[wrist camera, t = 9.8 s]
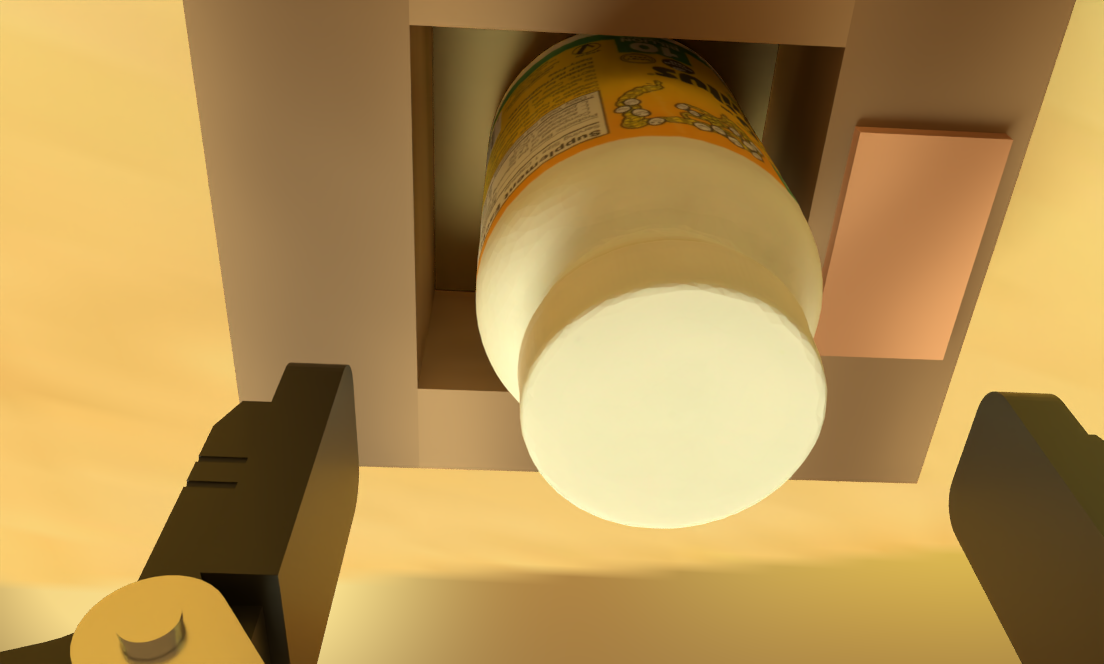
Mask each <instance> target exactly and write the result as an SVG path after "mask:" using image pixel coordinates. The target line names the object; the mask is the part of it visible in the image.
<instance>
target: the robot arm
mask: <svg viewBox="0 0 1104 664" xmlns="http://www.w3.org/2000/svg"><path fill="white" fill-rule="evenodd" d="M358 482H359V457H358V443H357V428H356V414H355V400H354V385H353V375H352V370H351V367H350V365H345V364H319V363H294V362H290V363H288V365H287V366H286V368H285V370H284V372H283V375H282V377H281V380H280V382H279V384H278V387H277V389H276V392H275V394H274V396H273V399H272V401H271V402H264V401H242V402H241V403H240V404H239V405H238V406H236V407H235V408H234V409H233V410H232V411H230V412H229V413H228V414H227V415H226V416H225V417H223V418H222V419H221V420H220V421H219V422H217V423H216V424H215V425H214V426H213V428H212V430H211V432H210V434H209V436H208V438H207V440H206V442H205V444H204V446H203V448H202V450H201V452H200V454H199V461H198V462H196V463H195V465H194V467H193V469H192V471H191V473H190V475H189V477H188V479H187V486H186V487H183V489H182V491H181V493H180V496H179V498H178V500H177V502H176V504H175V506H174V508H173V510H172V512H171V514H170V516H169V518H168V520H167V522H166V524H165V526H164V528H163V530H162V532H161V535H160V537H159V539H158V541H157V543H156V545H155V547H154V549H153V551H152V553H151V555H150V557H149V559H148V561H147V563H146V565H145V567H144V569H143V571H142V574H141V576H140V578H139V580H138V581H137V582H134V583H131V584H128V585H126V586H124V587H122V588H120V589H118V590H116V591H114V592H113V593H111V594H109V595H108V596H106V597H105V598H103V599H102V600H101V601H100V602H98V603H97V604H96V605H95V606H93V607H92V609H91V610H90V611H89V612H88V613H87V614H86V615H85V616H84V618H83V619H82V620H81V622H80V623H79V624H78V626H77V628H76V630H75V632H74V633H72V634H70V635H67V636H64V637H62V638H58V639H55V640H51V641H48V642H44V643H39V644H35V645H30V646H25V647H21V648H17V649H13V650H8V651H3V652H0V664H317V661H318V657H319V653H320V649H321V645H322V641H323V637H324V633H325V629H326V625H327V621H328V617H329V613H330V609H331V605H332V601H333V596H334V593H335V589H336V585H337V581H338V577H339V573H340V569H341V565H342V561H343V557H344V553H345V549H346V545H347V541H348V536H349V532H350V528H351V524H352V520H353V516H354V512H355V507H356V502H357V494H358ZM949 514H950V520H951V524H952V528H953V531H954V533H955V535H956V537H957V539H958V541H959V543H960V545H961V547H962V549H963V551H964V553H965V555H966V557H967V558H968V560H969V562H970V564H971V566H972V568H973V570H974V572H975V574H976V576H977V578H978V580H979V582H980V584H981V585H982V587H983V589H984V591H985V593H986V595H987V597H988V599H989V601H990V603H991V605H992V607H993V609H994V610H995V612H996V614H997V616H998V618H999V620H1000V622H1001V624H1002V626H1003V628H1004V630H1005V632H1006V634H1007V635H1008V637H1009V639H1010V641H1011V643H1012V645H1013V647H1014V649H1015V651H1016V653H1017V655H1018V657H1019V659H1020V661H1021V662H1022V664H1104V440H1102V439H1101V438H1099V437H1098V436H1097V435H1088V433H1087V432H1086V431H1085V430H1084V428H1083V427H1082V426H1081V425H1080V423H1079V422H1078V421H1077V419H1076V418H1075V417H1074V416H1073V414H1072V413H1071V412H1070V411H1069V409H1068V408H1067V407H1066V406H1065V404H1064V403H1063V402H1062V401H1061V400H1060V399H1059V398H1058V397H1057V396H1055V395H1053V394H1040V393H1014V392H990V393H988V394H987V395H986V396H985V397H984V398H983V399H982V401H981V403H980V405H979V407H978V410H977V413H976V416H975V418H974V421H973V424H972V427H971V430H970V433H969V435H968V438H967V441H966V444H965V447H964V450H963V452H962V455H961V458H960V461H959V464H958V467H957V469H956V472H955V475H954V478H953V481H952V484H951V488H950V494H949Z"/></svg>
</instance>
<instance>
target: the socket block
mask: <svg viewBox="0 0 1104 664" xmlns="http://www.w3.org/2000/svg"><path fill="white" fill-rule="evenodd" d="M1075 2H1076V0H183V5H184V12H185V19H186V26H187V33H188V40H189V47H190V55H191V62H192V69H193V76H194V83H195V90H196V97H197V104H198V111H199V118H200V125H201V132H202V139H203V146H204V153H205V161H206V168H207V175H208V182H209V189H210V196H211V203H212V210H213V217H214V224H215V231H216V238H217V245H218V252H219V259H220V266H221V274H222V281H223V288H224V295H225V302H226V309H227V316H228V323H229V330H230V337H231V344H232V351H233V358H234V365H235V372H236V380H237V387H238V394H239V401H240V403H241V402H242V401H264V402H271V401H272V399H273V396H274V394H275V392H276V389H277V387H278V384H279V382H280V380H281V377H282V375H283V372H284V370H285V368H286V366H287V365H288V363H290V362H294V363H319V364H345V365H350V367H351V370H352V375H353V385H354V400H355V414H356V428H357V443H358V457H359V466H367V467H400V468H432V469H464V470H497V471H529V472H539V471H538V469H537V467H536V466H535V464H534V462H533V461H532V459H531V457H530V455H529V452H528V449H527V447H526V444H525V441H524V438H523V436H522V430H521V422H520V403H519V402H518V401H517V400H516V399H515V398H514V397H513V395H512V394H511V393H510V392H509V391H508V390H507V388H506V387H505V386H504V385H503V383H502V382H501V380H500V379H499V377H498V376H497V374H496V372H495V370H494V368H493V367H492V365H491V363H490V361H489V358H488V356H487V354H486V351H485V349H484V346H483V343H482V339H481V335H480V332H479V328H478V322H477V314H476V292H469V291H443V290H435V224H434V124H433V26H439V27H458V28H478V29H497V30H517V31H536V32H556V33H575V34H595V35H614V36H634V37H653V38H673V39H692V40H712V41H731V42H751V43H770V44H779V49H778V55H777V61H776V66H775V72H774V78H773V83H772V89H771V95H770V100H769V106H768V111H767V117H766V123H765V128H764V134H763V140H762V144H763V146H764V148H765V150H766V153H767V154H768V155H769V157H770V158H771V160H772V162H773V163H774V165H775V166H776V168H777V170H778V171H779V173H780V175H781V176H782V179H783V180H784V182H785V183H786V185H787V186H788V188H789V190H790V191H791V193H792V194H793V196H794V197H795V199H796V200H797V202H798V204H799V206H800V209H801V211H802V213H803V215H804V217H805V219H806V221H807V223H808V225H809V228H810V230H811V232H812V235H813V238H814V240H815V243H816V246H817V249H818V254H819V258H820V263H821V270H822V279H823V295H822V307H821V312H820V317H819V321H818V325H817V329H816V332H815V335H814V338H813V339H814V342H815V344H816V346H817V349H818V351H819V354H820V357H821V361H822V364H823V368H824V373H825V378H826V383H827V403H826V412H825V419H824V422H823V425H822V428H821V431H820V434H819V437H818V439H817V441H816V443H815V445H814V447H813V448H812V450H811V452H810V453H809V455H808V456H807V458H806V459H805V461H804V462H803V463H802V464H801V466H800V467H799V468H798V469H797V470H796V472H795V473H794V474H793V475H792V476H791V477H790V478H789V479H788V480H820V481H852V482H885V483H917V481H918V478H919V475H920V472H921V469H922V466H923V463H924V460H925V457H926V454H927V451H928V448H929V445H930V442H931V439H932V436H933V433H934V430H935V427H936V424H937V421H938V418H939V415H940V412H941V408H942V405H943V402H944V399H945V396H946V393H947V390H948V387H949V384H950V381H951V378H952V375H953V372H954V369H955V366H956V363H957V360H958V357H959V354H960V351H961V348H962V345H963V342H964V339H965V336H966V333H967V330H968V327H969V323H970V320H971V317H972V314H973V311H974V308H975V305H976V302H977V299H978V296H979V293H980V290H981V287H982V284H983V281H984V278H985V275H986V272H987V269H988V266H989V263H990V260H991V257H992V254H993V251H994V248H995V245H996V241H997V238H998V235H999V232H1000V229H1001V226H1002V223H1003V220H1004V217H1005V214H1006V211H1007V208H1008V205H1009V202H1010V199H1011V196H1012V193H1013V190H1014V187H1015V184H1016V181H1017V178H1018V175H1019V172H1020V169H1021V166H1022V163H1023V159H1024V156H1025V153H1026V150H1027V147H1028V144H1029V141H1030V138H1031V135H1032V132H1033V129H1034V126H1035V123H1036V120H1037V117H1038V114H1039V111H1040V108H1041V105H1042V102H1043V99H1044V96H1045V93H1046V90H1047V87H1048V84H1049V81H1050V77H1051V74H1052V71H1053V68H1054V65H1055V62H1056V59H1057V56H1058V53H1059V50H1060V47H1061V44H1062V41H1063V38H1064V35H1065V32H1066V29H1067V26H1068V23H1069V20H1070V17H1071V14H1072V11H1073V8H1074V5H1075Z"/></svg>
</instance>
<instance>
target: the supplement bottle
mask: <svg viewBox="0 0 1104 664" xmlns="http://www.w3.org/2000/svg"><path fill="white" fill-rule="evenodd" d="M822 295H823V279H822V270H821V263H820V258H819V254H818V249H817V246H816V243H815V240H814V238H813V235H812V232H811V230H810V228H809V225H808V223H807V221H806V219H805V217H804V215H803V213H802V211H801V209H800V206H799V204H798V202H797V200H796V199H795V197H794V196H793V194H792V193H791V191H790V190H789V188H788V186H787V185H786V183H785V182H784V180H783V179H782V176H781V175H780V173H779V171H778V170H777V168H776V166H775V165H774V163H773V162H772V160H771V158H770V157H769V155H768V154H767V153H766V150H765V148H764V146H763V144H762V143H761V142H760V140H759V139H758V137H757V136H756V134H755V132H754V130H753V129H752V127H751V125H750V124H749V122H748V120H747V119H746V117H745V115H744V114H743V112H742V110H741V109H740V107H739V105H738V103H737V101H736V100H735V98H734V96H733V94H732V93H731V91H730V90H729V88H728V87H727V85H726V84H725V82H724V81H723V80H722V79H721V77H720V76H719V74H718V73H717V72H716V71H715V70H714V69H713V67H712V66H711V65H710V64H709V63H708V62H707V61H705V60H704V59H703V58H702V57H701V56H699V55H698V54H697V53H696V52H695V51H693V50H691V49H690V48H688V47H686V46H684V45H682V44H680V43H678V42H676V41H673V40H671V39H668V38H653V37H634V36H614V35H595V34H577V35H575V36H572V37H569V38H567V39H565V40H563V41H561V42H559V43H557V44H555V45H553V46H552V47H550V48H549V49H547V50H546V51H544V52H543V53H541V54H540V55H539V56H538V57H536V58H535V59H534V60H533V61H532V62H531V63H530V64H529V65H528V66H527V67H526V68H524V69H523V70H522V72H521V73H520V74H519V75H518V76H517V78H516V79H515V80H514V81H513V83H512V84H511V86H510V87H509V89H508V90H507V92H506V94H505V95H504V97H503V99H502V101H501V103H500V105H499V107H498V110H497V112H496V115H495V118H494V121H493V125H492V128H491V133H490V139H489V146H488V153H487V165H486V175H485V185H484V196H483V207H482V219H481V233H480V244H479V253H478V264H477V276H476V314H477V322H478V328H479V332H480V335H481V339H482V343H483V346H484V349H485V351H486V354H487V356H488V358H489V361H490V363H491V365H492V367H493V368H494V370H495V372H496V374H497V376H498V377H499V379H500V380H501V382H502V383H503V385H504V386H505V387H506V388H507V390H508V391H509V392H510V393H511V394H512V395H513V397H514V398H515V399H516V400H517V401H518V402H519V403H520V422H521V430H522V436H523V438H524V441H525V444H526V447H527V449H528V452H529V455H530V457H531V459H532V461H533V462H534V464H535V466H536V467H537V469H538V471H539V472H540V474H541V475H542V476H543V477H544V478H545V480H546V481H547V482H548V483H549V484H550V485H551V486H552V487H553V488H554V489H555V490H556V491H557V492H558V493H559V494H560V495H562V496H563V497H564V498H565V499H567V500H568V501H569V502H571V503H572V504H573V505H575V506H577V507H579V508H580V509H582V510H584V511H586V512H589V513H591V514H592V515H594V516H597V517H600V518H602V519H605V520H608V521H612V522H616V523H619V524H624V525H628V526H633V527H645V528H669V529H671V528H682V527H689V526H694V525H701V524H705V523H708V522H712V521H716V520H720V519H723V518H725V517H728V516H730V515H734V514H737V513H739V512H741V511H743V510H745V509H747V508H749V507H751V506H753V505H754V504H756V503H758V502H759V501H761V500H762V499H764V498H766V497H767V496H768V495H770V494H771V493H773V492H774V491H775V490H777V489H778V488H779V487H781V486H782V485H783V484H784V483H785V482H786V481H787V480H788V479H789V478H790V477H791V476H792V475H793V474H794V473H795V472H796V470H797V469H798V468H799V467H800V466H801V464H802V463H803V462H804V461H805V459H806V458H807V456H808V455H809V453H810V452H811V450H812V448H813V447H814V445H815V443H816V441H817V439H818V437H819V434H820V431H821V428H822V425H823V422H824V419H825V412H826V403H827V383H826V378H825V373H824V368H823V364H822V361H821V357H820V354H819V351H818V349H817V346H816V344H815V342H814V339H813V338H814V335H815V332H816V329H817V325H818V321H819V317H820V312H821V307H822Z"/></svg>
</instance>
